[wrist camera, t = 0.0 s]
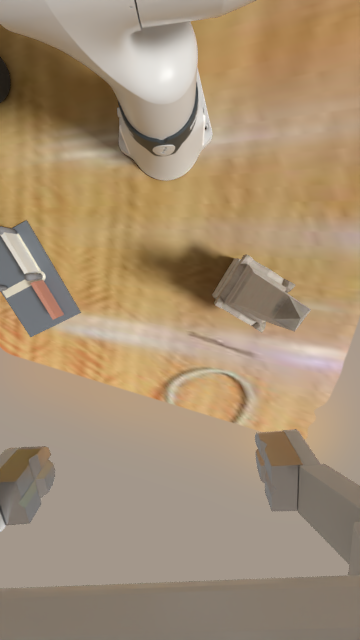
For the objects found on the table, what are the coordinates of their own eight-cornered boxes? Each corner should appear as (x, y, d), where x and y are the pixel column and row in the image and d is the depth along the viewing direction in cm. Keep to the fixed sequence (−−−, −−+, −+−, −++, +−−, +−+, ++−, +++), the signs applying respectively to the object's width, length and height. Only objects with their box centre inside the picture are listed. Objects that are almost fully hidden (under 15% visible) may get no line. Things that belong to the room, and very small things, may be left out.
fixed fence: (-22, 248, 54) (-42, 247, 50) (15, 227, 53) (-1, 224, 48) (9, 296, 57) (-7, 299, 52) (45, 277, 56) (32, 278, 51)
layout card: (-26, 250, 55) (-27, 249, 54) (27, 220, 53) (25, 220, 52) (31, 336, 59) (30, 337, 59) (80, 312, 58) (80, 312, 57)
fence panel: (39, 282, 55) (30, 283, 52) (43, 280, 55) (34, 281, 52) (60, 316, 57) (52, 319, 54) (64, 314, 57) (56, 318, 54)
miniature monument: (246, 317, 57) (309, 377, 28) (209, 295, 56) (234, 334, 27) (272, 279, 55) (370, 301, 26) (233, 255, 54) (290, 251, 24)
